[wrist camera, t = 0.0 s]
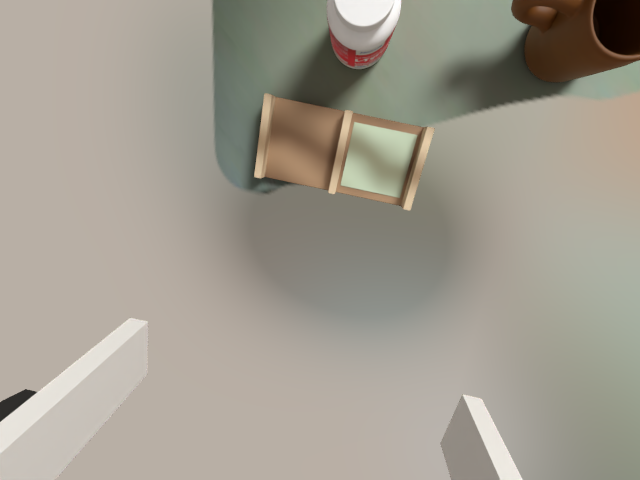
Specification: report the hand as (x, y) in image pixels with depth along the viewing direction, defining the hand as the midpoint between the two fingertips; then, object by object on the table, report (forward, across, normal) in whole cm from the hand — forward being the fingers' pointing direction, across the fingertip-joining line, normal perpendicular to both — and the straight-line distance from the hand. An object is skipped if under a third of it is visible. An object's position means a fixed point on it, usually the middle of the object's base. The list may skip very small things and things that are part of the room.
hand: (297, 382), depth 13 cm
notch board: (+28, -1, +8) cm, 29 cm away
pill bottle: (+28, -1, +20) cm, 35 cm away
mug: (+28, +17, +23) cm, 40 cm away
